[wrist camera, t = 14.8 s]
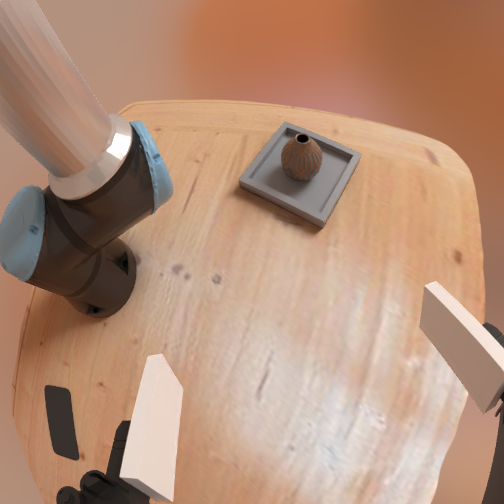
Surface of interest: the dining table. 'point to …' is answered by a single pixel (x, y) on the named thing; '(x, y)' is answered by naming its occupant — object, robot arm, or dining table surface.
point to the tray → (301, 192)
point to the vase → (301, 157)
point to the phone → (61, 421)
